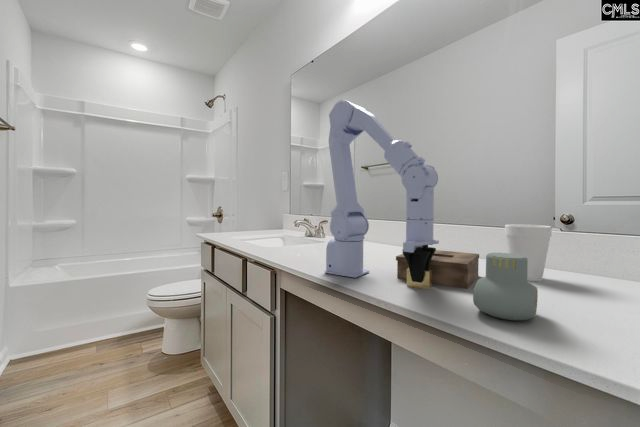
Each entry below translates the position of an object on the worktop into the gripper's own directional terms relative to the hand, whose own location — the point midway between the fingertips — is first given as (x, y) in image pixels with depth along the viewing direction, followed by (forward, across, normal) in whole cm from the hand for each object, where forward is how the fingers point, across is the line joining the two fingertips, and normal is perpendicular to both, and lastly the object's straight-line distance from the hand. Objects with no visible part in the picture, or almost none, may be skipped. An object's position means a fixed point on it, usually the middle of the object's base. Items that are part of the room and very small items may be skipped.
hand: (418, 280), depth 67 cm
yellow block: (+2, 0, 0) cm, 2 cm away
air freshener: (+2, -8, -17) cm, 19 cm away
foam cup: (+2, +24, -19) cm, 31 cm away
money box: (+1, +12, -1) cm, 12 cm away
